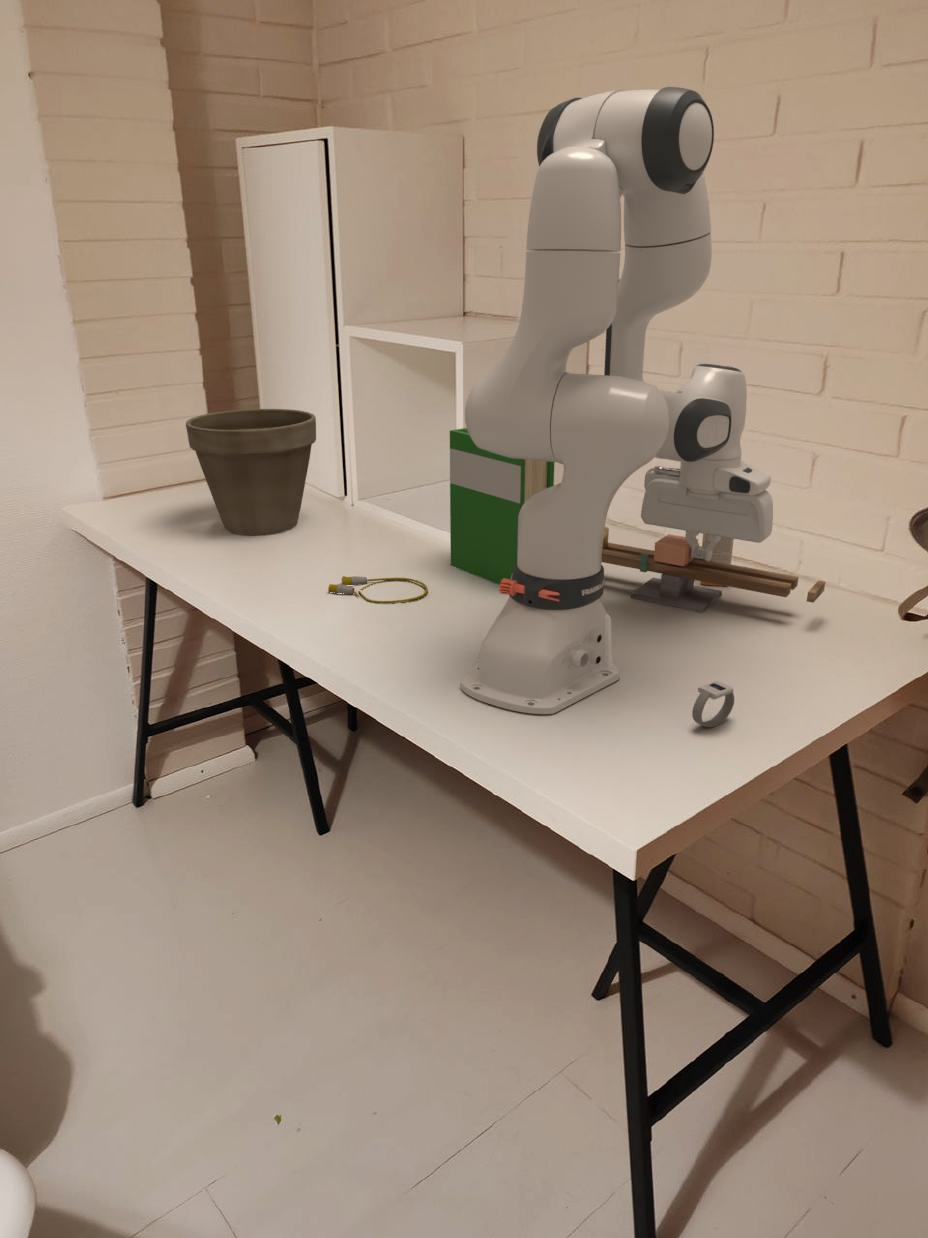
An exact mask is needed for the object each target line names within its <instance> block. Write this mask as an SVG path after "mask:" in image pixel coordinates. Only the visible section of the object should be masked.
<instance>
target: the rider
mask: <svg viewBox="0 0 928 1238" xmlns="http://www.w3.org/2000/svg"><path fill="white" fill-rule="evenodd" d="M696 539H697V541H698V542H699V539H698V538H696ZM653 551H654V561H657V562H663V563H668V564H674V565H679V566H685V565H686V564H687V565H688V563H689V562H690V561H692V560H693V559H691V548H690V546H689V544H688V542H687V539H686V537H685V536H681V535H676V534H671V533H670V534H667V535H665V536H664V537H662V538H660V539H659V540H657V541H655V542H654V550H653Z"/></svg>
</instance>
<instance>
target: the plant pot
mask: <svg viewBox="0 0 928 1238" xmlns="http://www.w3.org/2000/svg"><path fill="white" fill-rule="evenodd" d="M316 420H317V419H316V415H315V414H313V413H312V412H309V411H303V410H296V409H289V408H288V409H287V408H252V409H251V408H250V409H249V408H247V409H235V410H233V409H232V410H225V411H224V410H223V411H217V412H209V413H205V414H201V415H196V416H194V417H192V418H190V419H188V420H186V422H185V427H186V434H187V440H188V444H189V448H190V449H191V450H192V451H195V454H196V456H197V459H198V462H199V465H200V468H201V471H202V473H203V475H204V479H205V481H206V483H207V484H206V485H207V486H208V489H209V491H210V494H211V497H212V499H213V503H214V505H215V507H216V510H217V512H218V516H219V518H220V520H221V522H222V525H223V527H224V528H225V530H227V531H228V532H230V533H234V534H238V535H246V536H247V535H251V536H253V535H254V536H255V535H256V536H258V535H268V534H269V535H270V534H275V533H281V532H285V531H288V530H289V529H292V528H294V527H295V526H296V525H297V524H298V521H299V517H300V513H301V509H302V503H303V502H302V501H303V497H304V490H305V487H306V482H307V481H306V480H307V474H308V470H309V464H310V458H311V454H312V453H311V452H312V451H311V450H312V447H313V446H312V445H313V444H314V443H316V440H317V421H316Z"/></svg>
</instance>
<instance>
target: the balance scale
mask: <svg viewBox="0 0 928 1238" xmlns="http://www.w3.org/2000/svg"><path fill="white" fill-rule="evenodd" d="M609 530H610V529H609V527H607V526H605V529H604V537H603V547H602V561H601V563H605V564H608V565H609V564H610V565H615V566H621V567H626V568H630V569H635V570H636V569H637V570H639V572H641V573H647V572H652V573H656V574H657V573H658V574H661V575H660V578H657V577H652V578H650V579H649V580H646V582H644V583H643V584H641V586H639V587H638V588H636V589H634V590H633V591H632V592H631V593H630V598H631V599H634V600H635V599H636V600H640V601H644V602H650V603H655V604H659V605H664V606H669V607H675V608H678V609H679V608H680V609H684V610H688V611H693V612H697V613H704V611H705V610H707V609H708V608H709V607H710V606H711V605H713V604H714V603H715V602H716V601H717V600H719V598H720V597H722V595H723V590H720V589H715V588H711V587H705V586H701V585H699V586H698V585H694V584H695V581H699V582H701V581H703V582H708V583H713V584H718V585H724V586H723V587H731V588H736V589H740V590H745V591H751V592H754V593H755V592H756V593H761V594H765V595H766V594H767V595H772V596H777V597H782V598H787V597H788V596H789V595H790V594H791V590H792V591H794V590H795V589H796V588H797V587H798V584H799V576H798V575H797V576H796V575H792V574H785V573H780V572H775V571H770V570H769V571H768V570H763V569H758V568H752V567H748V566H747V567H746V566H742V565H737V564H736V565H735V564H732V563H731V564H725V563H720V562H714V561H709V562H707V561H702V560H697V559H693V560H692V561H690V562H689V563H688V565H687V564H686V565H685V566H679V565H674V564H668V563H663V562H657V561H654V551H655V550H652V549H647V548H641V547H635V546H629V545H624V544H617V543H613V542H609V533H610V531H609ZM825 587H826V581H825V580H817V581H816V583H815V584H813V586H811V588H810V589H809V590H808V591H807V596H806V602H809V603H813V604H814V603H815V602H816V600H818V599H819V597H820V596H821V595H822V594H823V593H824V592H825Z"/></svg>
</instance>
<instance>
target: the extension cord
mask: <svg viewBox="0 0 928 1238" xmlns="http://www.w3.org/2000/svg"><path fill="white" fill-rule="evenodd" d="M395 580H397V582H406V581H408V582H407V583H410V582H411V584H413V583H414V585H416V586H419V587H421V588H422V589H423V590H425V592H424V593H422V594H420V595H418V596H415V597H414V596H413V597H410V598H406V599H405V598H404V599H396V600H374V599H370V598H367V597H366V596H365V595H364V594H363V593H362V591H364V590H365V589H367V588H368V587H371V586H374V585H377V584H381V583H385V582H386V581H387V582H396V581H395ZM375 581H376V582H375ZM368 582H373V583H370V584H368ZM376 583H377V584H376ZM342 584H343V585H342ZM358 584H362V585H366V586H364V587H362V588H360V589H359V590H362V591H361V592H360V591H359V590H358V593H357V591H355V587H354V586H347V585H356V586H359V585H358ZM373 584H374V585H373ZM370 585H371V586H370ZM366 587H367V588H366ZM364 588H365V589H364ZM327 590H328V593H329V592H335V593H342V594H343V593H344V594H350V595H352V594H353V593H354V594H353V595H355V596H356V597H357V596H358V597H360V596H361V597H362V599H364V600H365V601H367V602H369V601H370V602H369V603H372V602H374V603H373V604H379V603H392V604H391V605H396V604H395V603H402V604H406V602H409V603H412V601H413V602H416V601H419V600H422V599H423V598H425V597H426V596H428V594H429V589H428V586H427V585H426V584H425V583H424V582H423V581H421V580H418V579H413V578H409V577H383V578H369V579H368V578H367V576H346V575H343V576H341V584H339V583H338V584H333V583H330V584H329V585H328V589H327ZM359 593H360V594H361V595H360V594H359ZM359 595H360V596H359ZM424 596H425V597H424ZM358 597H357V598H358ZM418 599H419V600H418ZM415 600H416V601H415Z"/></svg>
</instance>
